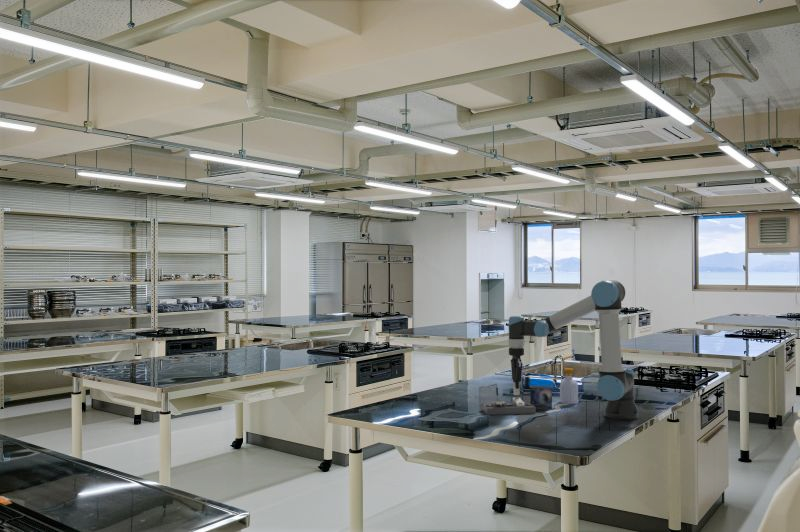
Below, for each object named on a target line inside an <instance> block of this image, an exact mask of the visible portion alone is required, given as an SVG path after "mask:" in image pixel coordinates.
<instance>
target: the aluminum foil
mask: <svg viewBox="0 0 800 532" xmlns="http://www.w3.org/2000/svg"><path fill="white" fill-rule="evenodd" d="M592 377H593V378H599V373H595V372H594V373H593V372H592V373H591V378H592Z"/></svg>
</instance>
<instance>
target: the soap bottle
mask: <svg viewBox="0 0 800 532" xmlns="http://www.w3.org/2000/svg"><path fill="white" fill-rule="evenodd" d="M572 357H573V356H572V355H568V356H565V357H563V358H562V368H563V370H564V371H565V372H566V373H565V378H564V379H563V380H561V381H560V383H559V402H560V403H561V404H565V405H577V404H578V403H579V384H578V382H577V381H576V380H574V379H573V374H572V373H571V372H572V371H574V368H572V367H570V368H569V367H568V368H566V367H565V360H568V359H570V358H572Z"/></svg>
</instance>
